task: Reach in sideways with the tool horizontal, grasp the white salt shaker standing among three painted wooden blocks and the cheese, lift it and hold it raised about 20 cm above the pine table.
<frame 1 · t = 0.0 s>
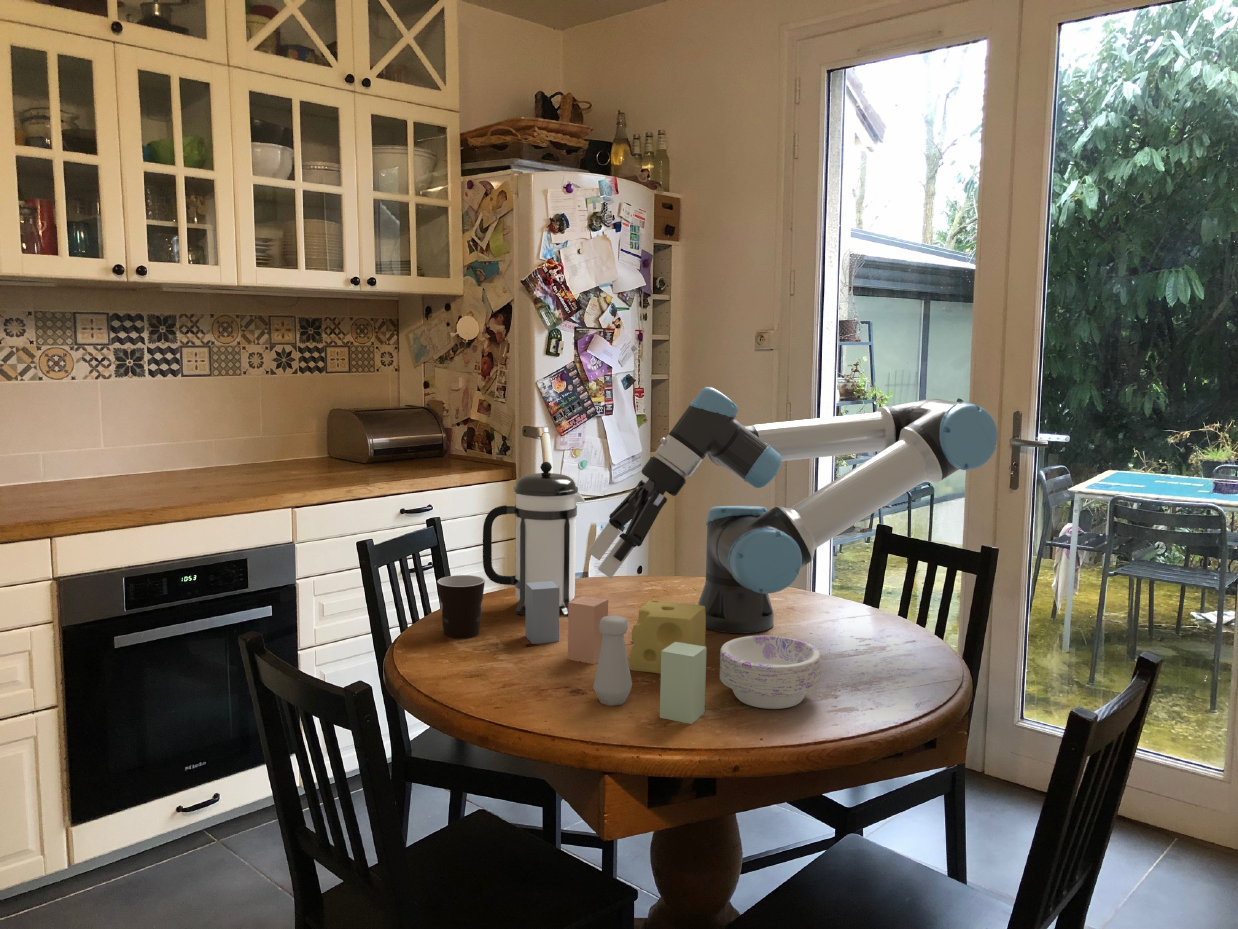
hand: (598, 564, 170), 15 cm above the table, tool tilted 35°, fingers open, 13 cm apart
terracotta block: (587, 657, 167), on the table
salt shaker: (612, 701, 148), on the table
coffee mug: (464, 632, 181), on the table
cheese: (668, 666, 164), on the table
sage block: (682, 715, 142), on the table
slate block: (542, 638, 178), on the table
coffee press: (538, 609, 197), on the table
paper bowls: (768, 700, 150), on the table
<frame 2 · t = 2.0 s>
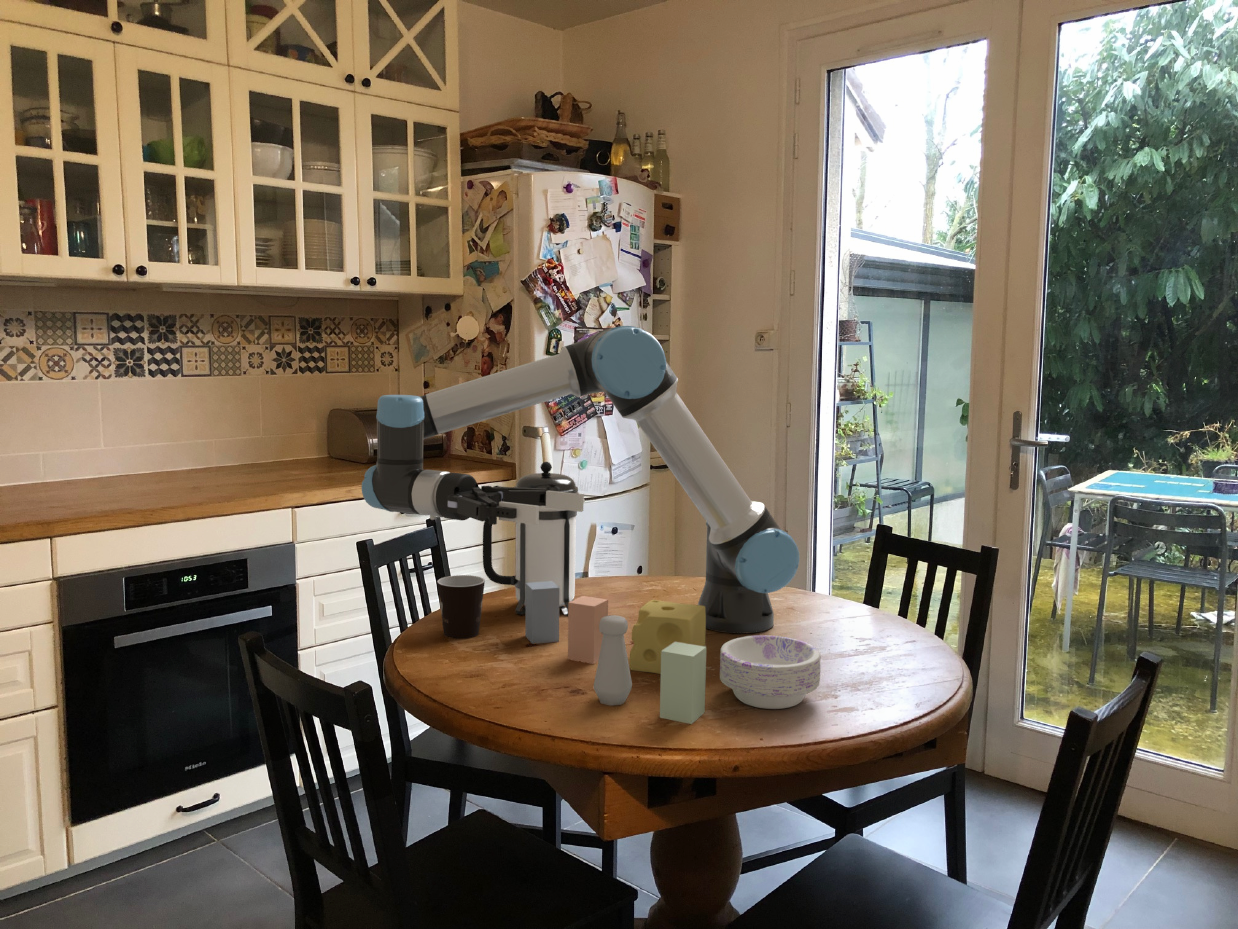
hand: (561, 509, 148), 29 cm above the table, tool horizontal, fingers open, 13 cm apart
nothing on the table moved.
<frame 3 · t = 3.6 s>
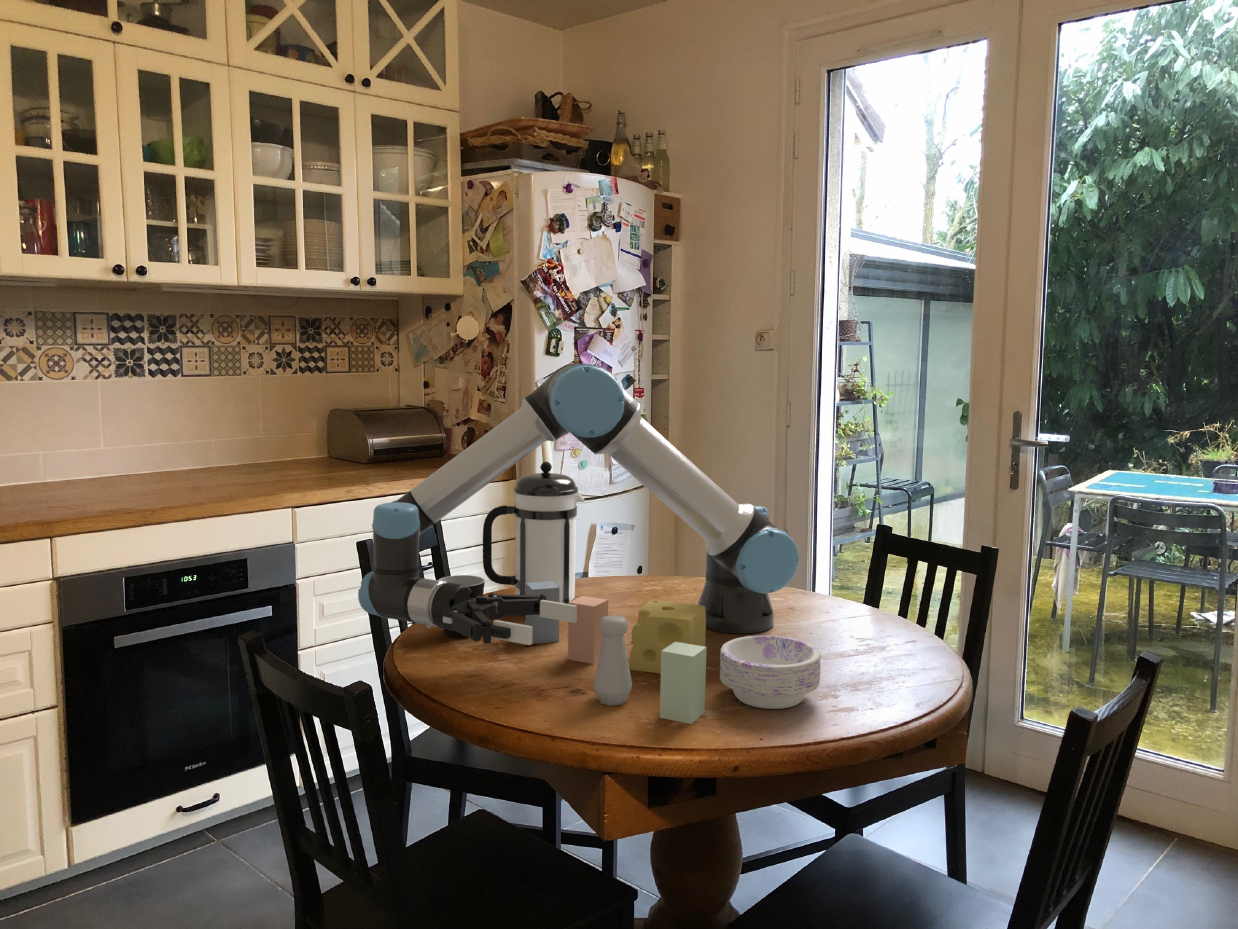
hand: (554, 624, 150), 10 cm above the table, tool horizontal, fingers open, 13 cm apart
nothing on the table moved.
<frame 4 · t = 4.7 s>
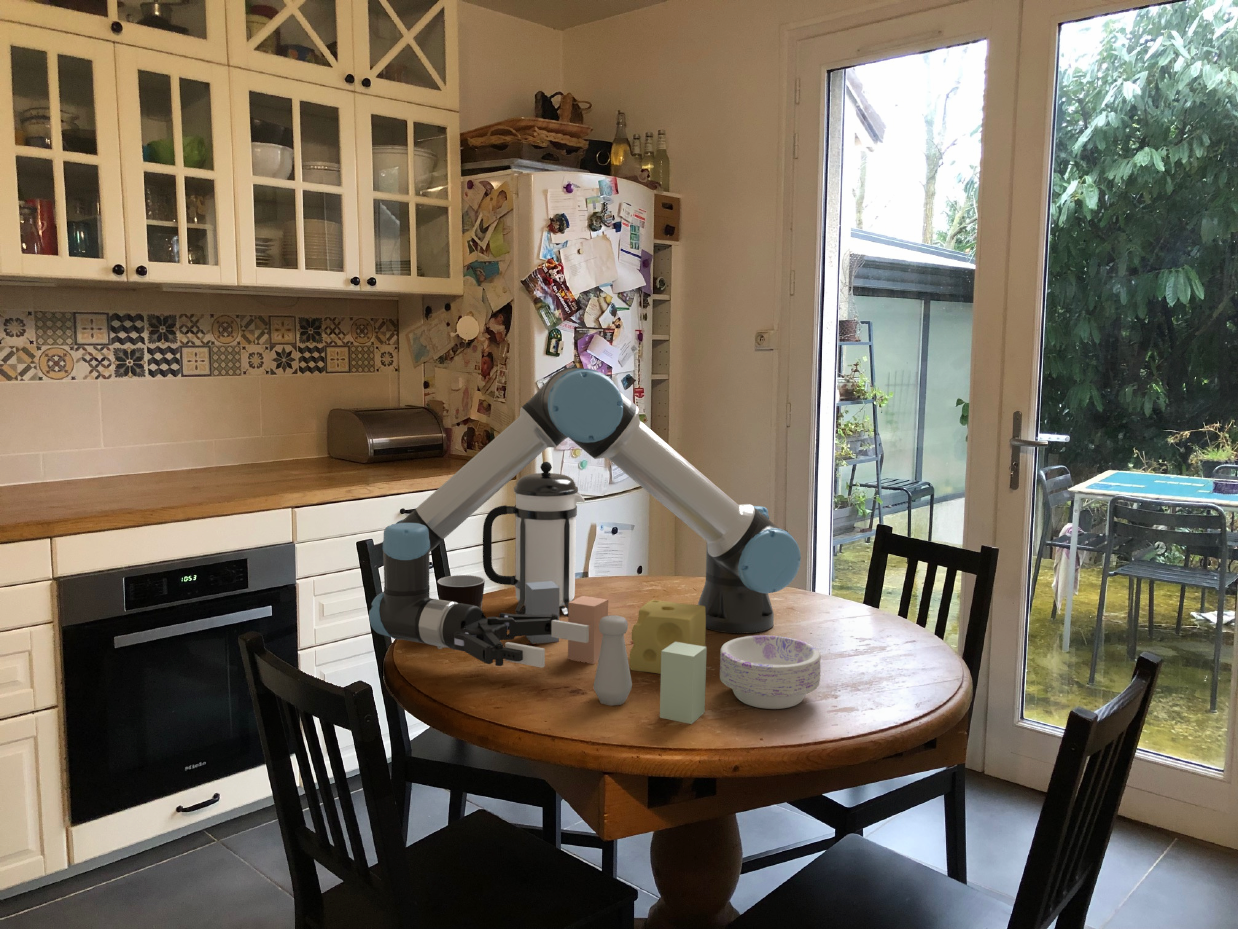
hand: (566, 645, 150), 7 cm above the table, tool horizontal, fingers open, 13 cm apart
nothing on the table moved.
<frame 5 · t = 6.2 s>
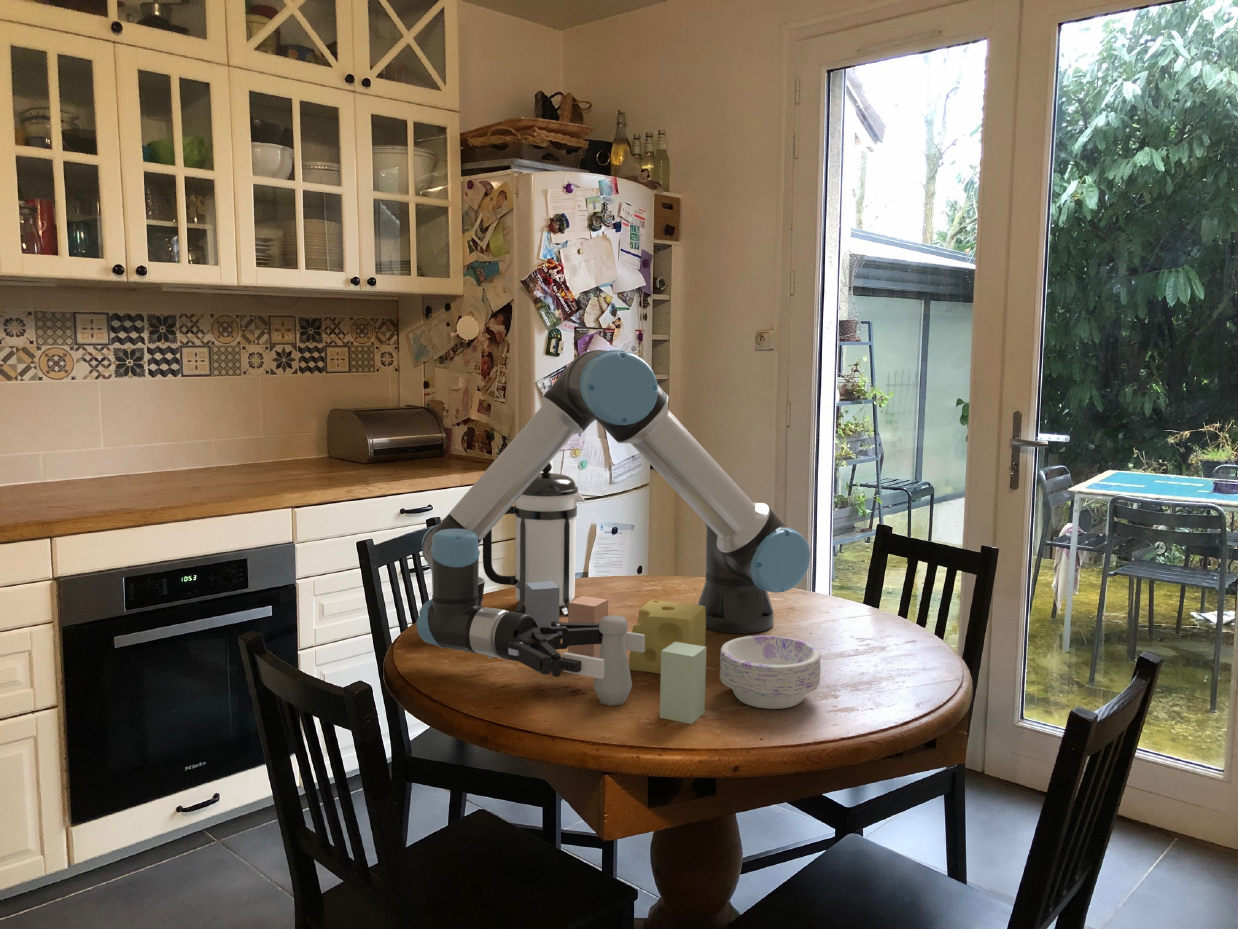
hand: (624, 655, 146), 7 cm above the table, tool horizontal, fingers open, 13 cm apart
nothing on the table moved.
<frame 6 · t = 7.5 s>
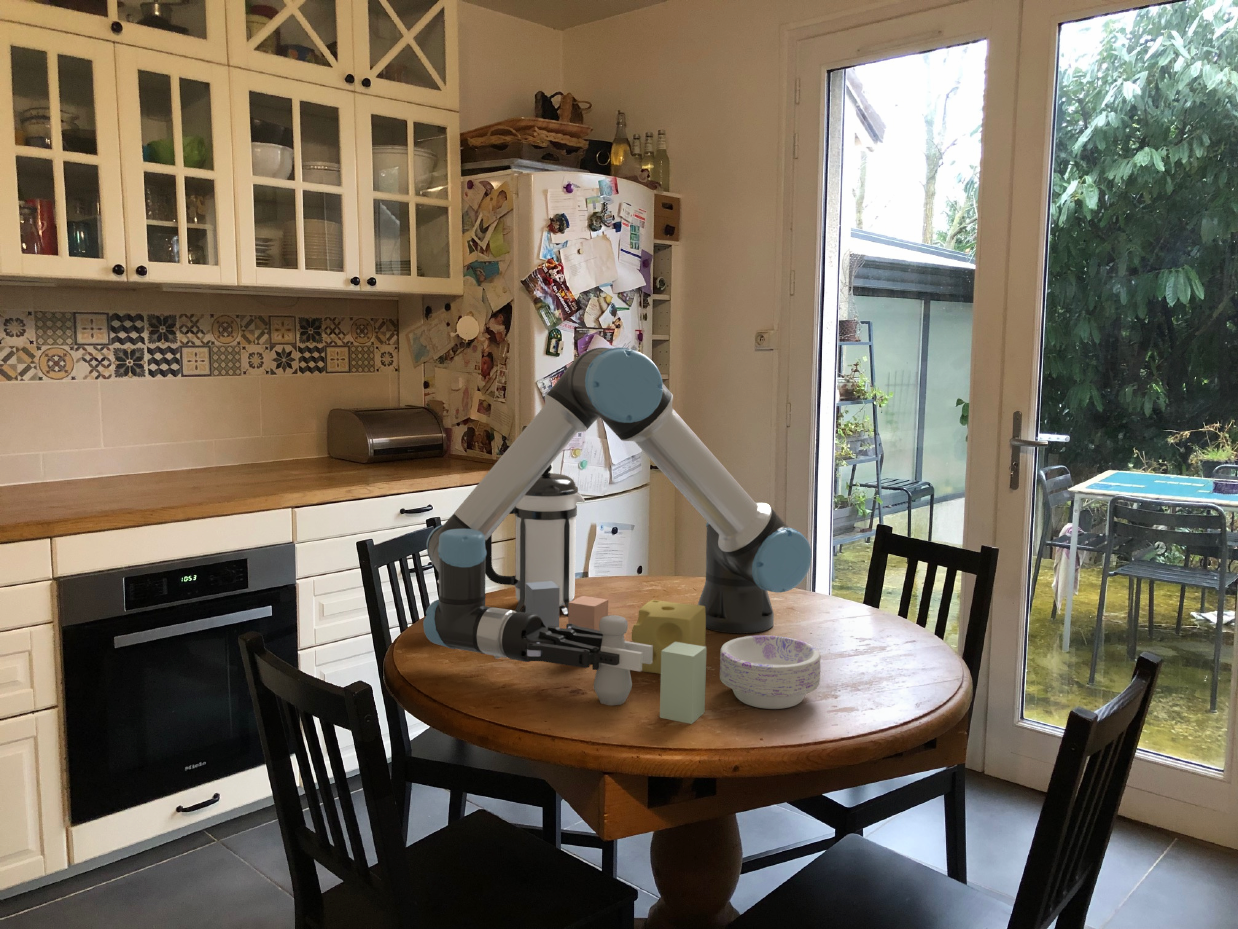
hand: (646, 658, 144), 8 cm above the table, tool horizontal, fingers closed on salt shaker, 3 cm apart
salt shaker: (612, 701, 148), on the table, touching gripper
everything else where it was.
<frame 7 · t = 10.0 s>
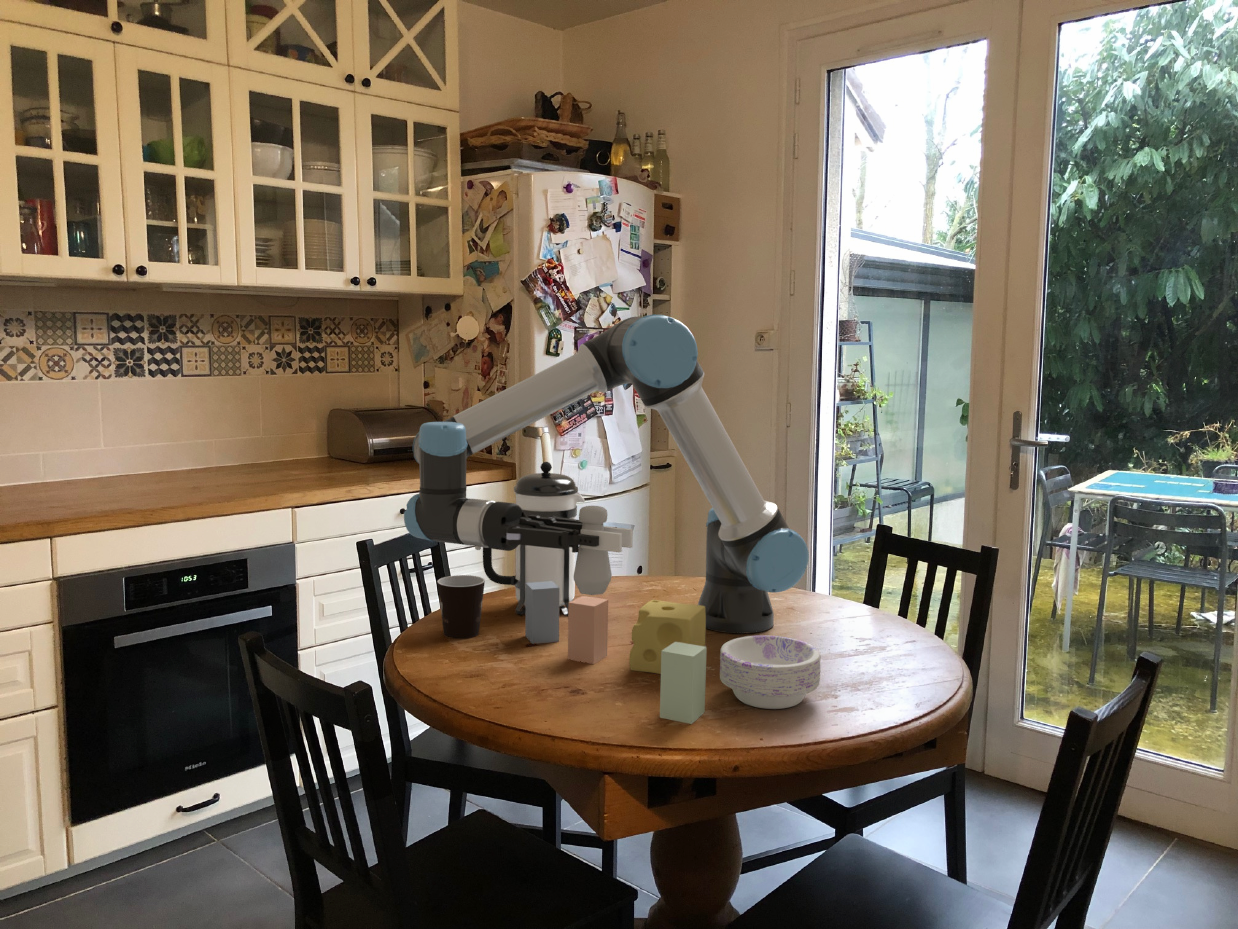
hand: (625, 540, 143), 25 cm above the table, tool horizontal, fingers closed on salt shaker, 3 cm apart
salt shaker: (592, 592, 147), point 16 cm above the table, touching gripper
everything else where it was.
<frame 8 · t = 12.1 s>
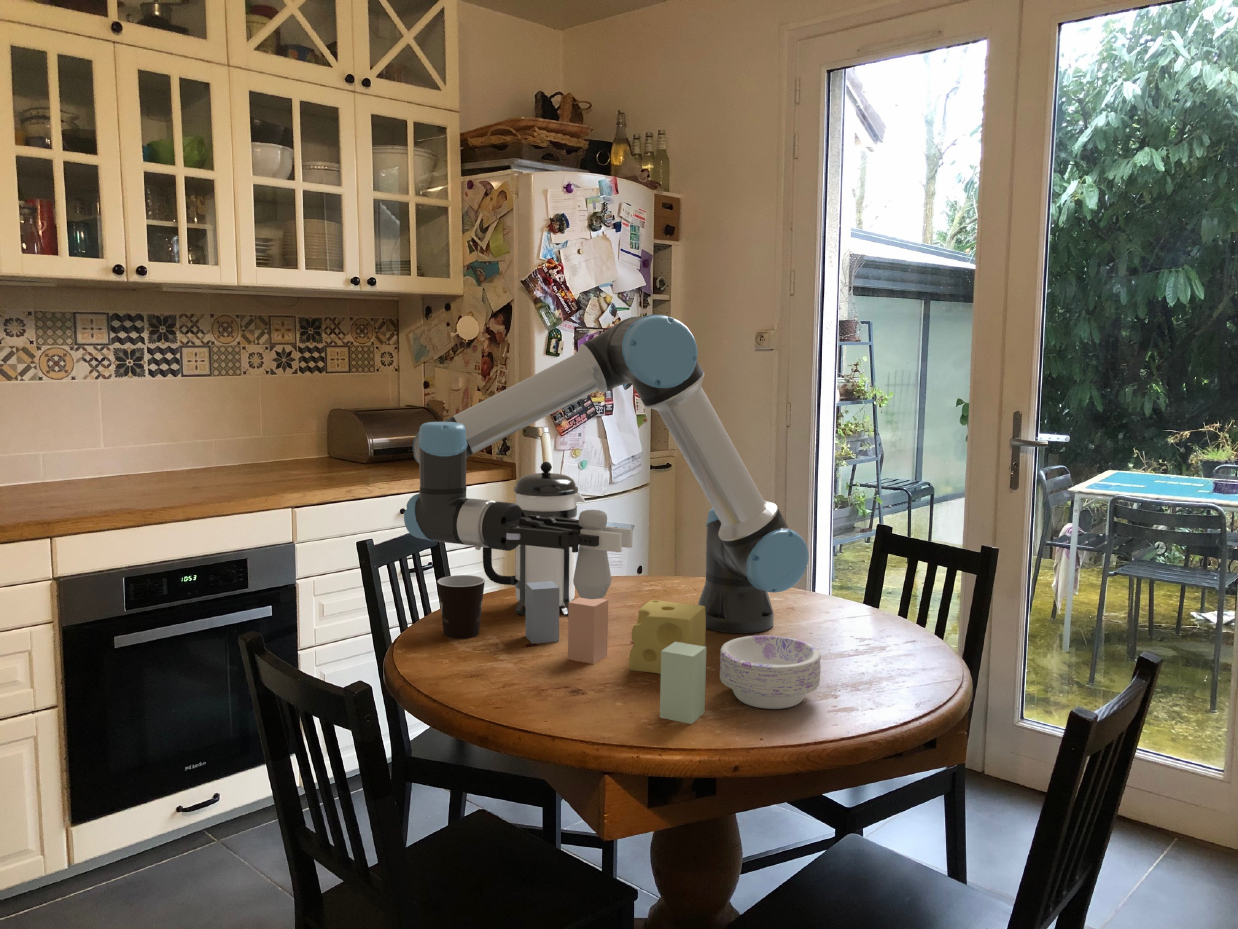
hand: (625, 540, 143), 25 cm above the table, tool horizontal, fingers closed on salt shaker, 3 cm apart
salt shaker: (592, 597, 147), point 16 cm above the table, touching gripper
everything else where it was.
at the end: the gripper is holding salt shaker; salt shaker point 15.7 cm above the table; sage block moved 0.0 cm from its start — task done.
